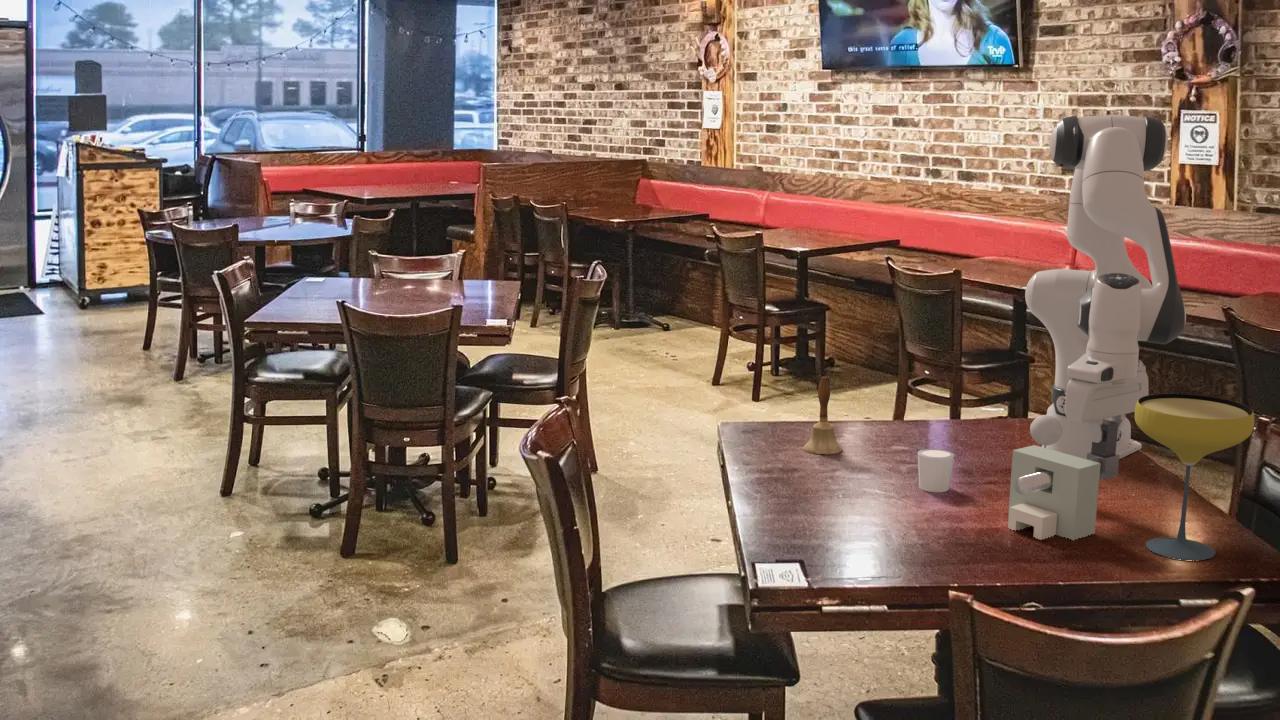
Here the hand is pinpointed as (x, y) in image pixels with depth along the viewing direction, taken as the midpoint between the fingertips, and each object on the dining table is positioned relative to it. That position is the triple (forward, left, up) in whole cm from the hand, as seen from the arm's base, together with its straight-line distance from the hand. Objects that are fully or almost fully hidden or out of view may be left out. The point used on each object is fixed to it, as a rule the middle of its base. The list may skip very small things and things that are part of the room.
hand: (1104, 439), depth 230 cm
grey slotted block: (+14, 0, -14) cm, 20 cm away
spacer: (+19, 0, -14) cm, 24 cm away
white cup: (+14, -27, -14) cm, 34 cm away
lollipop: (-2, -14, -14) cm, 20 cm away
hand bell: (+13, -59, -14) cm, 62 cm away
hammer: (+11, 0, -7) cm, 12 cm away
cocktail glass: (+6, +20, -14) cm, 25 cm away
